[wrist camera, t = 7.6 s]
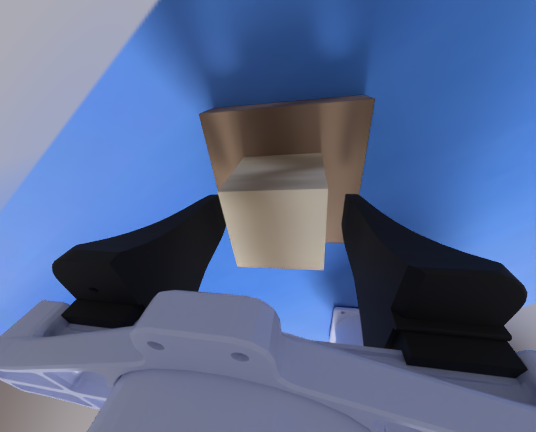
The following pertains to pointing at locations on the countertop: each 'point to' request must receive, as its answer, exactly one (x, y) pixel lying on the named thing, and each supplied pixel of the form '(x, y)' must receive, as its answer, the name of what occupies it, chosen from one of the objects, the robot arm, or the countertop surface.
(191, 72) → the countertop surface
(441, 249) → the robot arm
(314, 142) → the walnut block
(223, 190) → the maple cube
